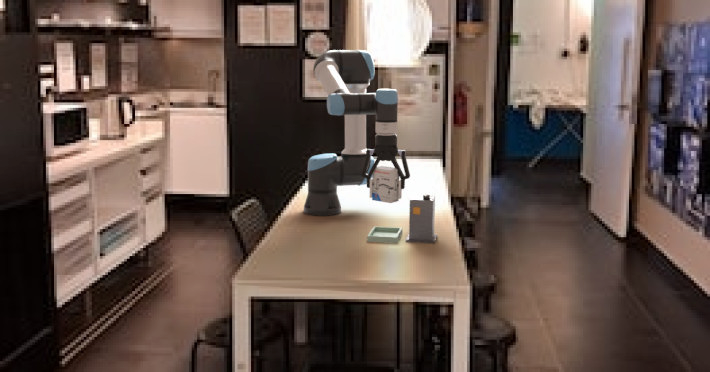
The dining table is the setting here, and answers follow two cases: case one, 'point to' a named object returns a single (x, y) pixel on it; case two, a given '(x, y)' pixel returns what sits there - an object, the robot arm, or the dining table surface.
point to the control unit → (422, 219)
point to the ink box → (385, 184)
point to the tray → (384, 234)
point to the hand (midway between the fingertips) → (385, 197)
